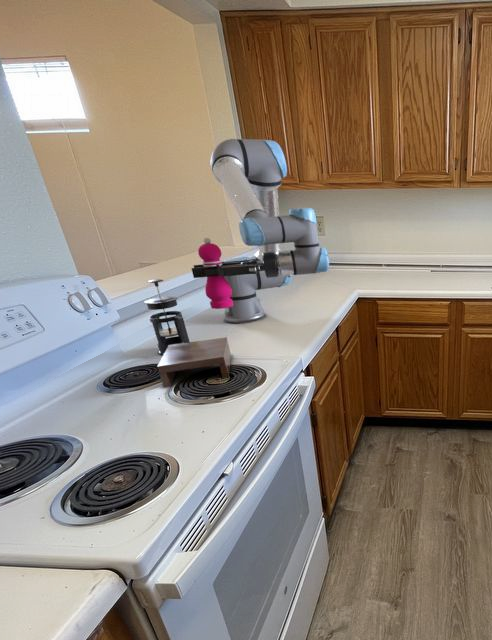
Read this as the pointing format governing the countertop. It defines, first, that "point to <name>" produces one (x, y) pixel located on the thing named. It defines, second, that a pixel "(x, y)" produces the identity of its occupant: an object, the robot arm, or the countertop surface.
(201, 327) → the countertop surface
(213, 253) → the pepper mill
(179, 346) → the shelf
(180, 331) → the french press
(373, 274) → the countertop surface
